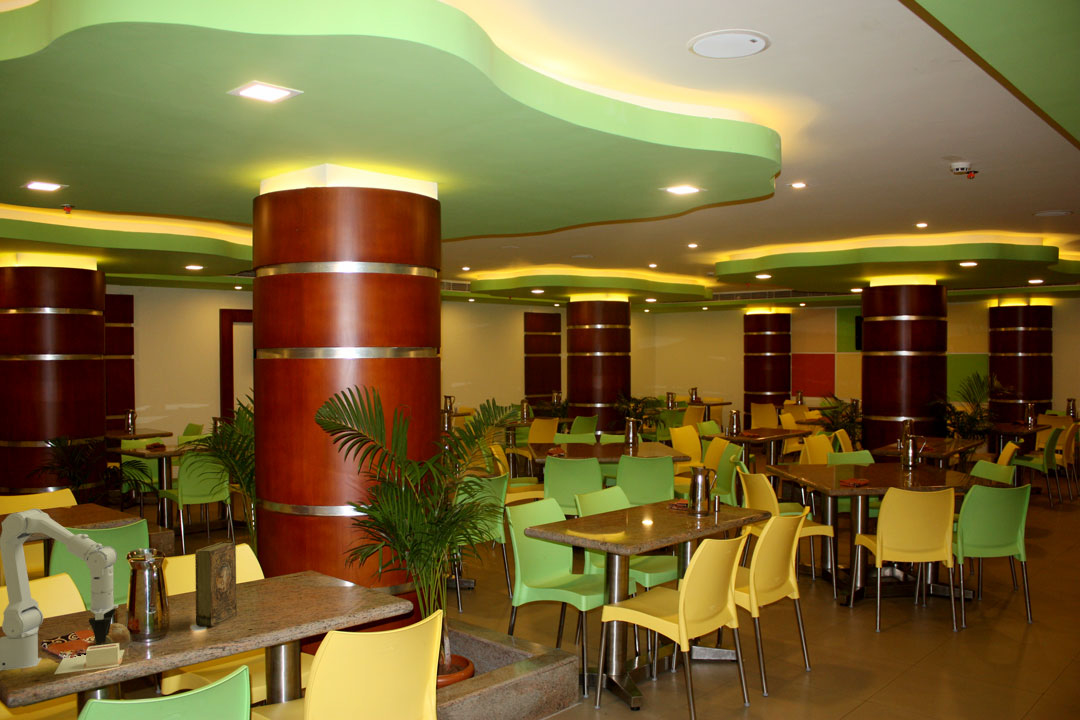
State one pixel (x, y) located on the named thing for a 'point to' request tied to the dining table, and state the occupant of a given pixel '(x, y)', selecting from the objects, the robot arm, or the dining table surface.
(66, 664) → the mat
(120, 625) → the bread roll
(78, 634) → the dining table surface
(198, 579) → the book
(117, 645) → the card box
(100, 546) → the robot arm
